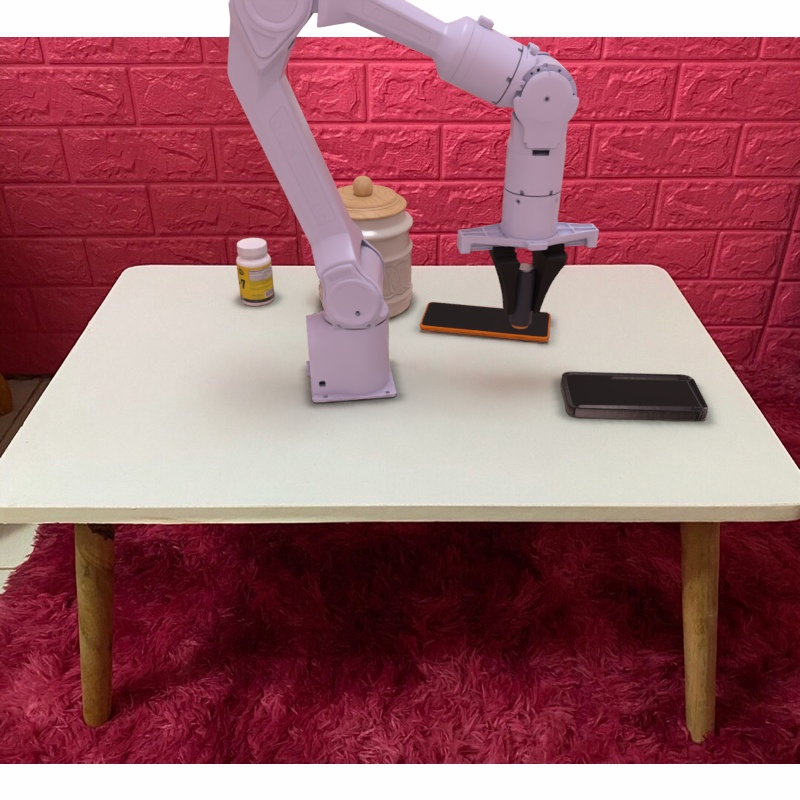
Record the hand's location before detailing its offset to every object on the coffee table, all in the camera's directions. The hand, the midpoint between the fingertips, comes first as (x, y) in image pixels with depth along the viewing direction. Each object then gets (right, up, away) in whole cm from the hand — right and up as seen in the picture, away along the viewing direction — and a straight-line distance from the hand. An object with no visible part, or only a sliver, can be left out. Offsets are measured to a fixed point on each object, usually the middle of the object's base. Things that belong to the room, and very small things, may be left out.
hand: (520, 309), depth 85 cm
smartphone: (-2, 0, +17) cm, 17 cm away
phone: (+13, -10, +2) cm, 16 cm away
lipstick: (0, -2, +1) cm, 2 cm away
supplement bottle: (-33, +4, +24) cm, 41 cm away
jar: (-18, +4, +23) cm, 30 cm away
